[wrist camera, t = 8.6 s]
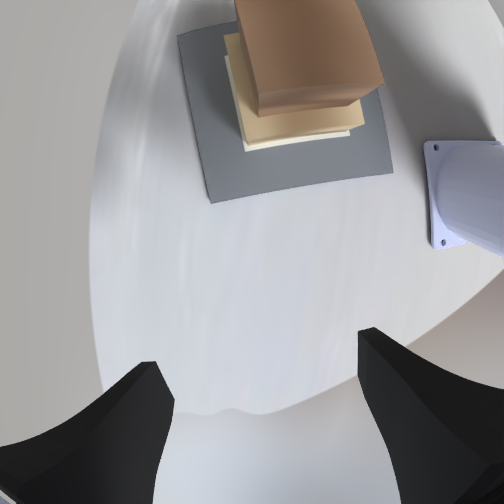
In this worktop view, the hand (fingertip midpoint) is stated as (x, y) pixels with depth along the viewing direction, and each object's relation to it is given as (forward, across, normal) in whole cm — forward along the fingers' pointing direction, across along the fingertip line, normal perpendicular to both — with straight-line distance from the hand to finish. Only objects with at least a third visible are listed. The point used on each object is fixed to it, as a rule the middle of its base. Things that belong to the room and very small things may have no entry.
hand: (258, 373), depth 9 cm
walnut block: (+6, -4, -11) cm, 13 cm away
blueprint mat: (+10, -4, -11) cm, 16 cm away
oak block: (+10, -4, -11) cm, 15 cm away
